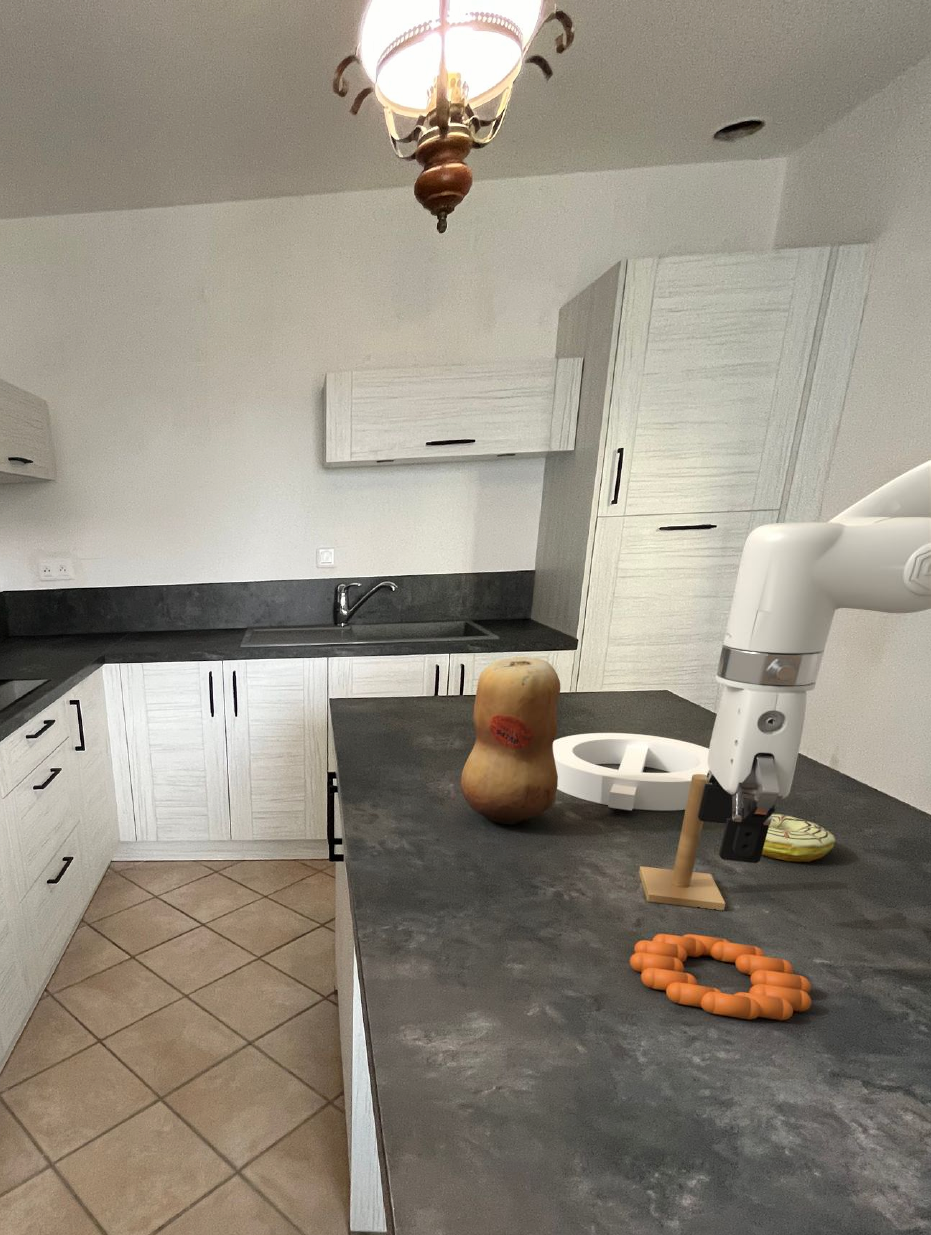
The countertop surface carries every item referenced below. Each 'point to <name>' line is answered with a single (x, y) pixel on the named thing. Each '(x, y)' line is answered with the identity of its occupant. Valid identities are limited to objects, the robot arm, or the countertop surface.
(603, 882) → the countertop surface
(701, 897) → the post
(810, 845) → the decorated donut
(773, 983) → the ring
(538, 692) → the butternut squash
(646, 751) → the white circle with bar
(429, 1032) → the countertop surface
